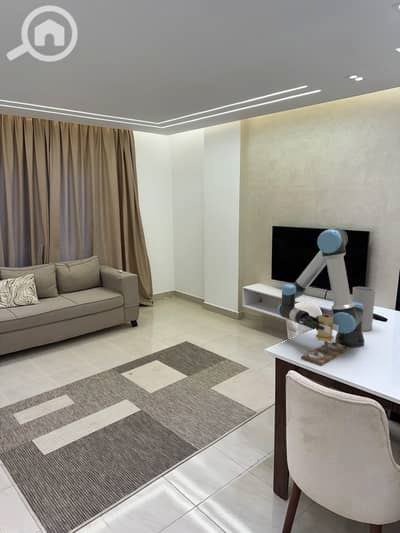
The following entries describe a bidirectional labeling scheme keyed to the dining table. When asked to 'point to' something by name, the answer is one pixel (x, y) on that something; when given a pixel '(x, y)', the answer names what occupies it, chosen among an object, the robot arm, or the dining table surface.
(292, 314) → the robot arm
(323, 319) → the yellow tan stepped cylinder
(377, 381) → the dining table surface
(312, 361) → the board
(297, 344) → the dining table surface
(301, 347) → the dining table surface
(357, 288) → the cylinder vase
